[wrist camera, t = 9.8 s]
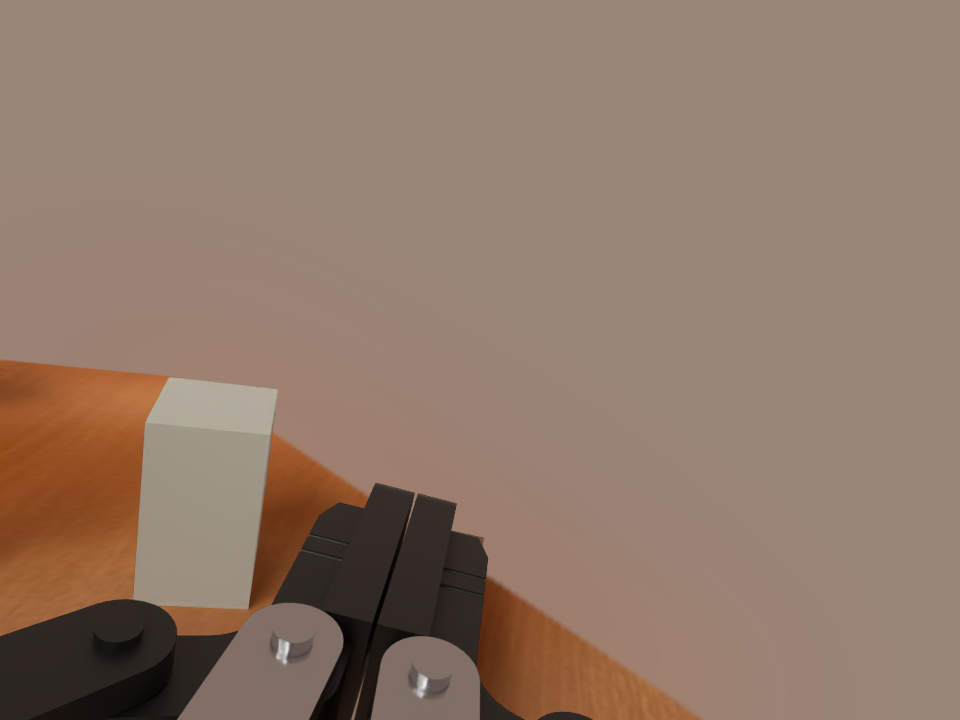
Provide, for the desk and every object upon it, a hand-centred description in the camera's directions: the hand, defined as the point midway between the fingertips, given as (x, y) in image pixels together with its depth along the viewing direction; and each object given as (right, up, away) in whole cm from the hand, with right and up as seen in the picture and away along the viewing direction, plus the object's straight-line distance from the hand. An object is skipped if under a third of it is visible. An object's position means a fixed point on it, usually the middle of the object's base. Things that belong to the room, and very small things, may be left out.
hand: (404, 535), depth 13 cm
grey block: (-14, -8, +27) cm, 31 cm away
